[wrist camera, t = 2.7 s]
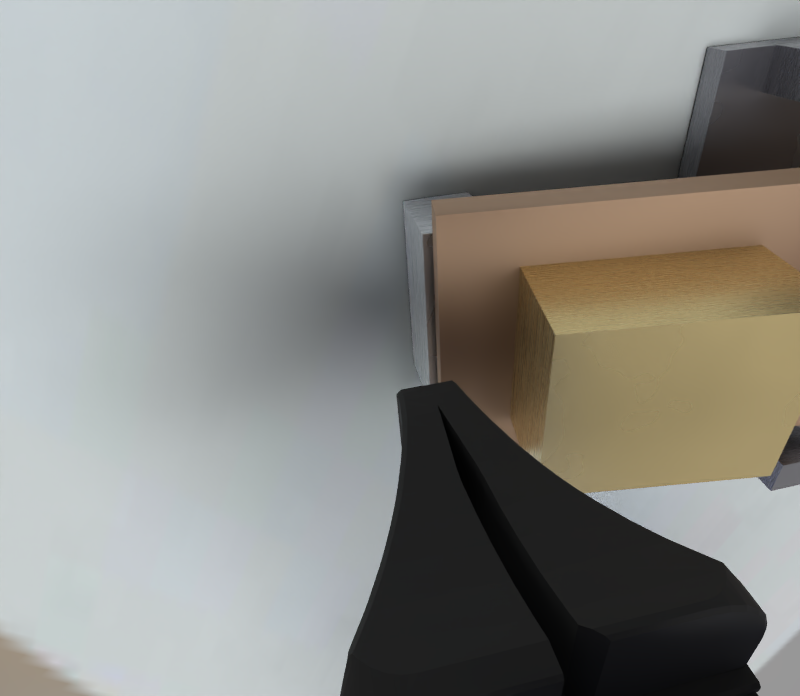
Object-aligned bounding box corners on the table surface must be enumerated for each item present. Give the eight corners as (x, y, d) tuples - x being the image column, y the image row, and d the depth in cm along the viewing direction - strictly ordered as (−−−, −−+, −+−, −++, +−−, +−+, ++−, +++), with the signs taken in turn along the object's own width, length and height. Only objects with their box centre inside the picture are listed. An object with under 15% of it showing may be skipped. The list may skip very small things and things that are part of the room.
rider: (709, 398, 16) (770, 476, 14) (510, 417, 16) (536, 497, 14) (761, 244, 14) (850, 308, 11) (519, 266, 13) (555, 335, 11)
